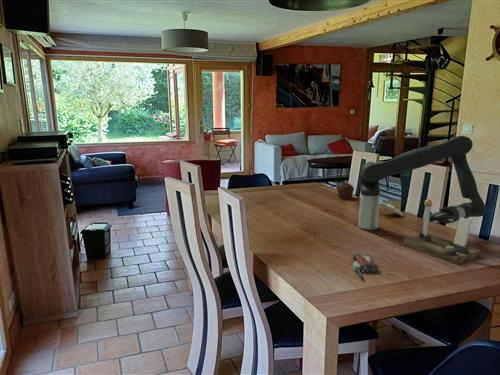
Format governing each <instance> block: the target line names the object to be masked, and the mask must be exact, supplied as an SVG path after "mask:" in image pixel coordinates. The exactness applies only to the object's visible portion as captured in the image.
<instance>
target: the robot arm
mask: <svg viewBox="0 0 500 375" xmlns="http://www.w3.org/2000/svg"><path fill="white" fill-rule="evenodd" d="M472 149H473V141H472V139H471V138H470V137H468V136H465V135H457V136H453V137H451V138H449V140H447V141H445V142H442V143H439V144H435V145H427V146H424V147H419V148H414V149H411V150H408V151H405V152H402V153H401V154H399V155H397V156H396V157H394V158H392V159H389V160H386V161H383V162H378V163H376V162H374V161H369V162H366V163H364V164H363V165H362V166H361V169H360V180H359V181H360V185H359V188H360V198H359V200H360V202H359V207H358V208H359V209H358V227H359V229H361V230H362V229H363V230H369V231H371V230H377V229H378V228H379V216H380V214H379V212H380V204H379V200H380V196H381V195H380V194H381V189H380V181H381V180H384V179H386V178H388V177H390V176H393V175H397V174H402V173H405V172H408V171H413V170H416V169H417V170H418V169H419V168H423V167H427V166H428V165H433V163H434V164H435V163H437V162H439V161H441V160H445V159H449V158H451V162H452V164H453V167H454V170H455V172H456V177H457V181H458V185H459V189H460V193H461V197H462V198H464V199H467V200H470V202H464V203H461V204H456V205H449V206H444V207H442V208H440V209H439V210H438V211H435V212H432V211H431V210H430V219H429V223H431V222H435V223H436V222H438V223H444V224H446V225H447V224H452V223H456V222H457V223H458V222H459V220H460V217H461V218H466V219H469V218H474V217H475V218H476V217H477V218H479V217H480V218H481V217H484V216H485V215H486V213H487V206H486V204H485V202H484V201H483V199H482V197H481V195H480V193H479V191H478V187H477V186H478V185H477V182H476V179H475V176H474V174H473V171H472V170H471V167H470V165H469V163H468V159H467V154H468V153H469V152H470V151H471V150H472Z"/></svg>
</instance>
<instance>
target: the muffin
mask: <svg viewBox="0 0 500 375" xmlns="http://www.w3.org/2000/svg"><path fill="white" fill-rule="evenodd" d="M336 190H337V195H338V196H337V197H338V199H340V200H352V198H353V194H354V190H355V188H354V185H352V184H351V183H348V182H342V183H340V184H339V185H338V186H337V187H336Z"/></svg>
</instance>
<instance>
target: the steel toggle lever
mask: <svg viewBox="0 0 500 375" xmlns="http://www.w3.org/2000/svg"><path fill="white" fill-rule="evenodd" d="M423 204H424V214H423V217H424V218H423V225H422V233H423V236H425V237H426V235H428V234H429V230H430V228H429V227H430V222H429V219H430V211H431V207H432V205H433V201H432V200H431V199H425V200H424V203H423Z"/></svg>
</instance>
